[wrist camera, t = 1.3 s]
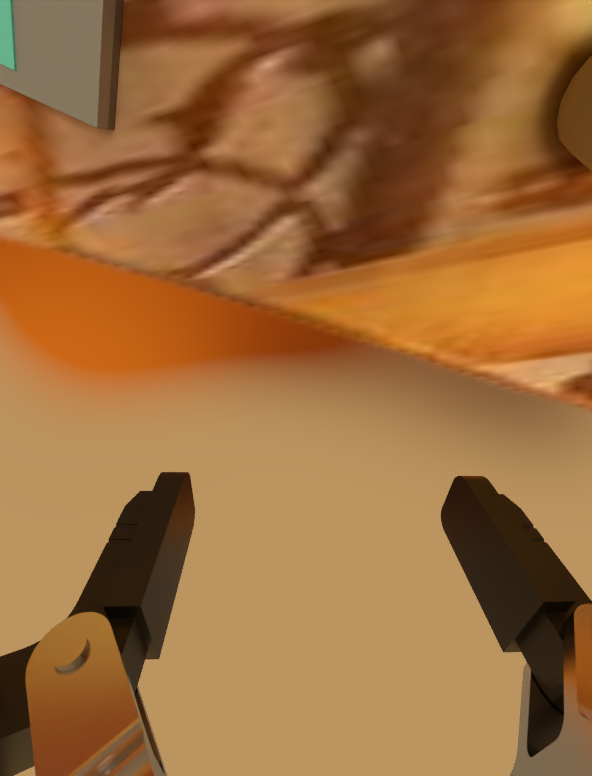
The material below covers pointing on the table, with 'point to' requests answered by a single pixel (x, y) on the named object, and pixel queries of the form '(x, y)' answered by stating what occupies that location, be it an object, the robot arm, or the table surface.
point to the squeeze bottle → (577, 115)
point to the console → (63, 55)
